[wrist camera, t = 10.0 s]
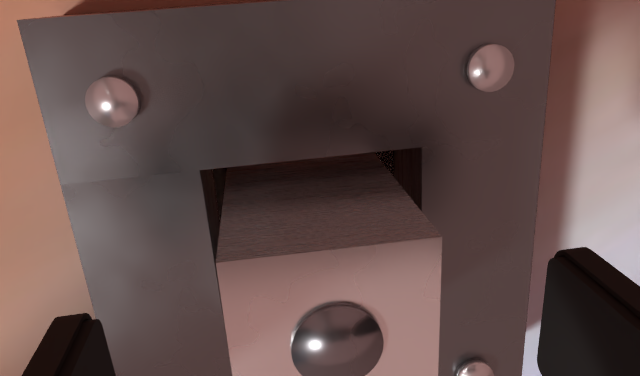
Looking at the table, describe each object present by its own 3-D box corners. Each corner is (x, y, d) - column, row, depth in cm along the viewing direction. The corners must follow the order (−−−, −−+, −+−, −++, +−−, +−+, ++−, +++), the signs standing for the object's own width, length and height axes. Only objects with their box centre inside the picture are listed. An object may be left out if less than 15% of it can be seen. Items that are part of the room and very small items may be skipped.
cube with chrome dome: (228, 158, 17) (215, 266, 10) (368, 145, 17) (444, 240, 10) (244, 281, 18) (241, 445, 12) (371, 266, 19) (439, 416, 12)
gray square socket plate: (61, 15, 14) (11, 21, 11) (502, -17, 16) (564, -20, 13) (152, 404, 19) (135, 480, 16) (481, 355, 21) (522, 418, 18)
